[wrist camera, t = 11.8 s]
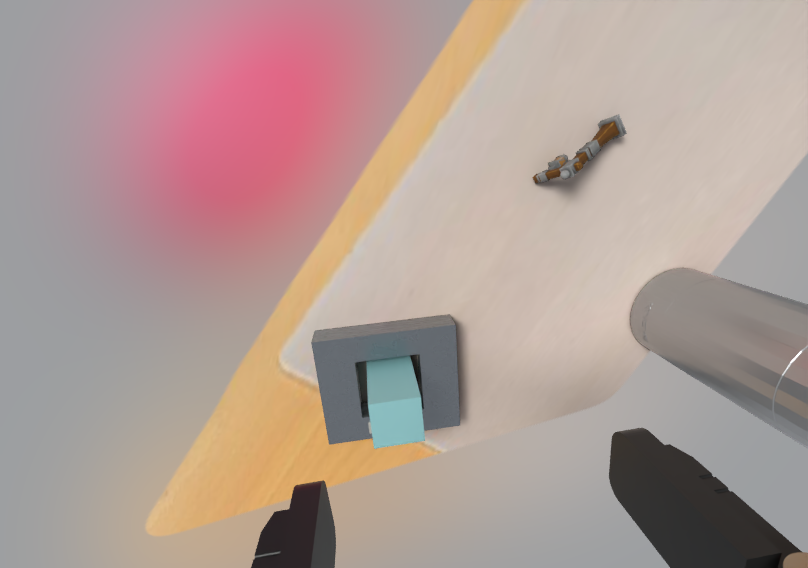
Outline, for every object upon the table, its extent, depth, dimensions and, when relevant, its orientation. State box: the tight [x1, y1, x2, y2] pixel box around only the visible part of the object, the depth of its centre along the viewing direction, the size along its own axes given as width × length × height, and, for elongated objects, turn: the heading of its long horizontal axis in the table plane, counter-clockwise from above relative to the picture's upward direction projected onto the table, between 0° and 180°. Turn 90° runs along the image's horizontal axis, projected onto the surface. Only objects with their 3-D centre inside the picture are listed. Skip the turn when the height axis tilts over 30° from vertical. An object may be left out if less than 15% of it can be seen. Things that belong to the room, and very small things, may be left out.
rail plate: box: [311, 315, 460, 444], centre depth 36 cm, size 13×11×3 cm
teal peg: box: [367, 355, 425, 449], centre depth 34 cm, size 4×4×8 cm
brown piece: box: [533, 114, 627, 183], centre depth 32 cm, size 2×8×4 cm, turn 124°
